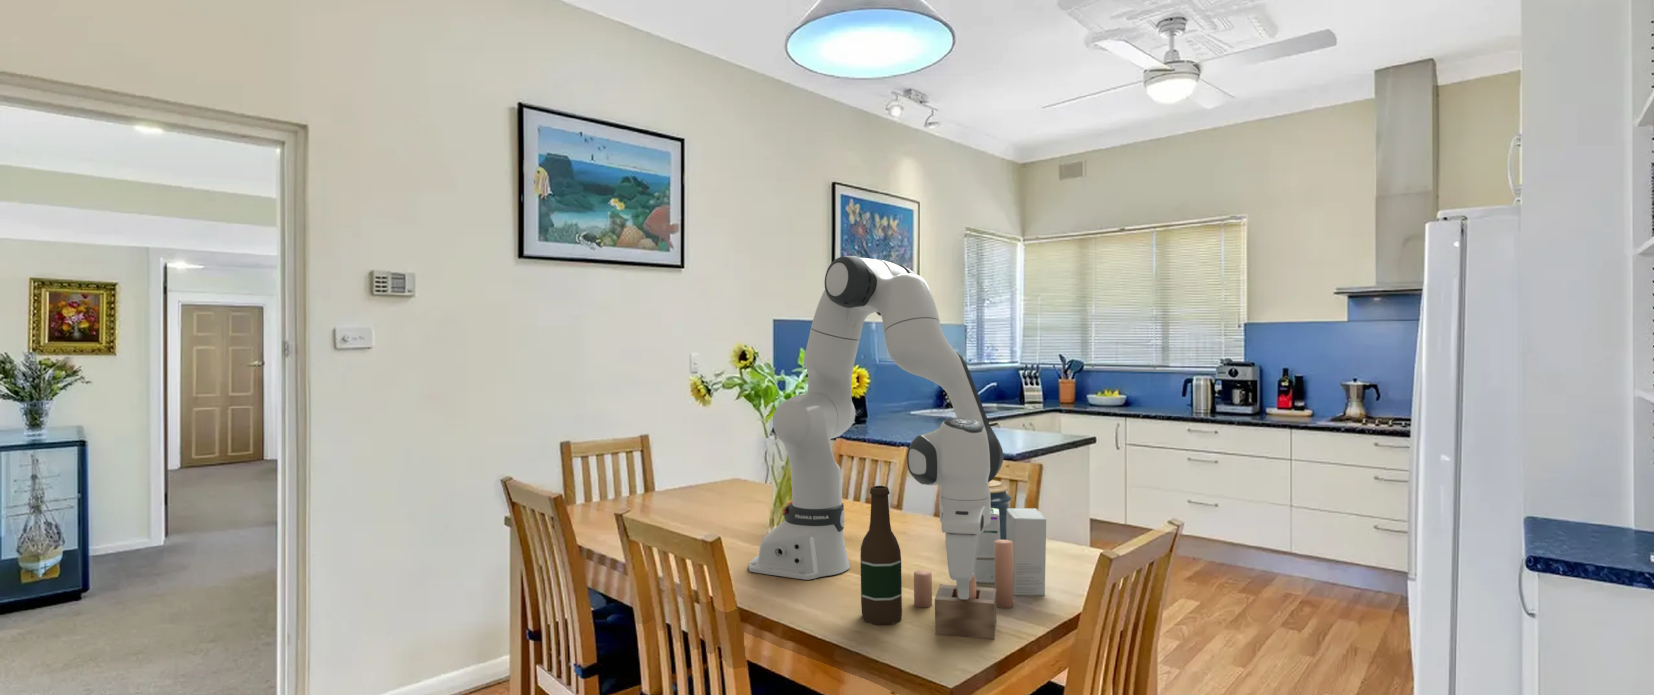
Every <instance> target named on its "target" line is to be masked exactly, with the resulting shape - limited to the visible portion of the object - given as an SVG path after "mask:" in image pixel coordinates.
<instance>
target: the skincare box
mask: <svg viewBox="0 0 1654 695" xmlns="http://www.w3.org/2000/svg"><path fill="white" fill-rule="evenodd" d="M1006 540H1010V541H1012V542H1013V597H1014V596H1015V597H1017V596H1018V597H1019V596H1020V597H1021V596H1027V597H1028V596H1029V597H1030V596H1034V597H1035V596H1036V597H1037V596H1038V597H1039V596H1043V597H1044V596H1045V595H1046V560H1047V559H1046V557H1047V556H1046V549H1047V548H1046V546H1047V519H1046V517H1045V516H1044V515H1043V513H1042V512H1040V511H1039V510H1038V508H1035V507H1034V508H1031V507H1030V508H1025V507H1023V508H1019V507H1018V508H1016V507H1015V508H1010V507H1009V509H1007V520H1006Z"/></svg>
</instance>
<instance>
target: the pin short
mask: <svg viewBox="0 0 1654 695" xmlns="http://www.w3.org/2000/svg"><path fill="white" fill-rule="evenodd" d="M932 577H933V574H932V572H931V571H929V570H924V569H923V570H922V569H921V570H916V571H915V570H914V572H913V602H914V603H913V604H914V606H915V607H919V608H929V607H932V606H933V582H932V581H933V578H932Z"/></svg>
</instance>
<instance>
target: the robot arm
mask: <svg viewBox="0 0 1654 695" xmlns="http://www.w3.org/2000/svg"><path fill="white" fill-rule="evenodd" d="M873 313H876V314H877V316H879V317H881V320H882V326H883V332H884V333H883V334H884V338H885V344H886V348H887V350H888V354H889V356H890V358H891V360H892V361H893V363H895V364H896V365H897V366H898V367H899V368H900V369H901V370H903V371H905V372H907V373H908V374H911V375H914V376H917V377H921V378H923V379H926V380H928V381H931V382H932V383H934V384H936V385H937V386H939V387H940V388H942V389H943V390H944V391H945V393H946V394H947V395H948V398H949V401H950V404H951V405H952V406H951V407H953V408H952V409H953V411H954V414H955V416H956V417H952V418H947V419H945V420H943V421H942V423H941V424H940V427H938V428H937V429H935V430H933V431H931V432H926V433H924V434H920V435H917V436H915V438H914V439H913V440H912V441H911V443H910V444H909V447H908V449H907V452H906V453H907V454H906V462H907V463H906V464H907V465H906V466H907V470H908V472H909V474H910V475H911V477H912V478H913V479H914V480H915V481H917V482H918V483H919V484H921V485H926V486H939V494H938V496H939V522H940V524H941V532H942V533H945V534H944V535H945V549H946V550H945V551H946V560H947V568H948V574H949V579H951V580H952V581H956V580H957V581H956V586H958V597H959V598H960V599H966V600H967V599H968V598H969V581H970V580H971V579H972V576H973V575H974V574H973V571H974V567H975V563H976V559H977V555H978V551H979V545H980V539H979V535H980V534H981V533H983V528H984V527H985V526H986V525H988V524H990V522H991V503H990V490H989V487H988V482H990V481H991V480H994V478H995V477H996V476H997V474H999V471H1000V470H1001V468H1002V466H1003V463H1004V452H1003V447H1002V444H1001V443H1000V440H999V439H998V437H997V435H996V433H995V432H994V430H993V428H992V426H991V424H990V422H989V420H988V417H987V414H986V412H985V409H984V406H983V404H982V401H981V398H980V395H979V392H978V391H977V388H976V385H975V382H974V379H973V378H972V375H971V372H970V370H969V367H968V365H967V363H966V360H965V359H964V357H963V356H962V355H961V353H960V352H958V351H956V350H955V349H954V348H953V347H952V346H951V344H950V343H949V341H948V340H947V337H946V335H945V334H944V331H943V329H942V325H941V321H940V318H939V313H938V309H937V306H936V303H935V300H934V297H933V295H932V292H931V290H930V287H929V285H928V284H927V282H926V280H925V279H924V278H923V277H922V276H920V275H918V274H916V273H915V272H914V271H913V270H911V269H910V268H908V267H906V266H904V265H901V264H895V263H893V262H890V261H887V260H882V259H880V258H879V259H878V258H876V259H874V258H867V257H859V256H855V255H845V256H840V257H839V256H838V257H837V258H835V259H834V260H833V261H832V262H831V263H830V265H829V266H828V268H827V270H826V272H825V276H824V290H823V292H822V294H821V296H820V299H819V301H818V304H817V306H816V310H815V312H814V316H813V319H812V323H811V326H810V327H811V328H810V331H809V336H808V339H807V340H808V341H807V344H806V348H805V352H804V356H803V365H804V367H805V370H806V371H807V391H806V393H804V394H798V395H794V396H792V397H790V398H788V399H786V400H785V401H783V402H782V403H781V404H779V405H778V406H777V407H776V409H775V411H774V412H773V413H774V414H773V417H772V428H773V431H774V433H775V435H776V436H777V438H778V439H779V440H780V441H781V442H782V443H783V445H784V447H785V450H786V453H787V458H788V461H789V464H790V465H789V466H790V471H791V495H792V496H791V497H792V498H791V500H790V501H789V502H788V503H787V505H786V506H785V507H783V508H784V509H783V510H782V516H783V517H784V520H783V521H782V522H781V523H779V524H778V525H777V526H776V527H774V528H773V529H772V530H770V532H768V533H767V534H766V535H765V536H764V538H762V540H761V541H760V542H761V543H760V546H759V551H758V554H757V555H756V556H754V557H753V558H752V559H751V560H750V562H749V564H748V571H749V572H750V573H751V572H752V573H756V574H757V573H758V574H764V575H771V576H778V577H785V578H792V579H798V580H803V581H804V580H805V581H807V580H810V581H811V580H813V579H817V578H820V577H821V578H822V577H828V576H833V575H838V574H841V573H844V572H846V571H847V570H849V569H850V568H851V564H850V562H849V557H848V554H847V550H846V542H845V536H844V528H845V521H846V520H845V508H844V503H843V500H842V499H843V498H842V497H843V496H842V494H843V493H842V469H841V467H840V465H839V464H838V463H837V462H836V459H835V456H834V453H833V450H832V443H831V439H835V438H838V437H840V436H841V435H843V434H844V433H845V432H847V431H848V430H849V429H850V428H851V427H852V426H853V424H854V421H855V420H856V408H855V405H854V403H853V401H852V384H853V383H852V380H853V371H854V366H855V361H856V357H857V353H858V350H859V345H860V341H861V335H862V331H863V327H864V323H865V320H866V318H867V317H868V316H869V315H871V314H873Z"/></svg>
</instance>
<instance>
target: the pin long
mask: <svg viewBox="0 0 1654 695" xmlns="http://www.w3.org/2000/svg"><path fill="white" fill-rule="evenodd" d="M994 588H996V608H997V607H998V608H1001V609H1008V608H1009V609H1010V608H1013V607H1014V595H1013V542H1012V541H1010V540H996V541H995V583H994Z"/></svg>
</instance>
